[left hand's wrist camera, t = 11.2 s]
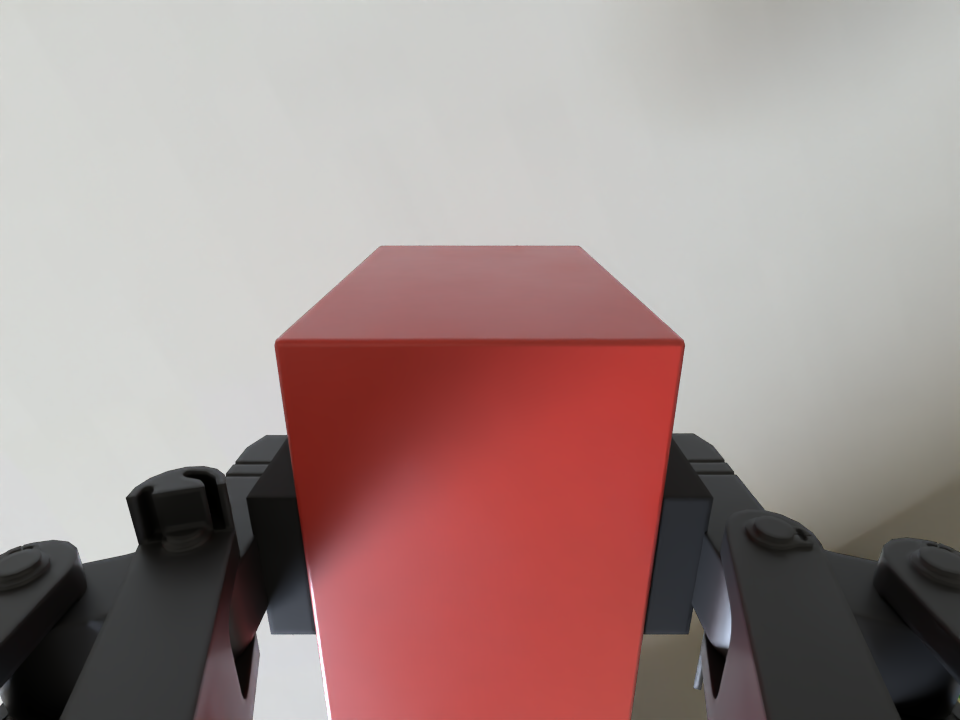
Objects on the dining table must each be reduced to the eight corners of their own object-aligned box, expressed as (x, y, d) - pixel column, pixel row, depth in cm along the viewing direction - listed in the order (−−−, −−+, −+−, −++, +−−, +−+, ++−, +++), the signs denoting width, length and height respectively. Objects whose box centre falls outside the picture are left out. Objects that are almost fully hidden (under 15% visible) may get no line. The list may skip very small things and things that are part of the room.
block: (580, 245, 15) (689, 340, 7) (564, 485, 17) (630, 739, 10) (378, 245, 14) (271, 340, 7) (394, 485, 17) (328, 738, 10)
